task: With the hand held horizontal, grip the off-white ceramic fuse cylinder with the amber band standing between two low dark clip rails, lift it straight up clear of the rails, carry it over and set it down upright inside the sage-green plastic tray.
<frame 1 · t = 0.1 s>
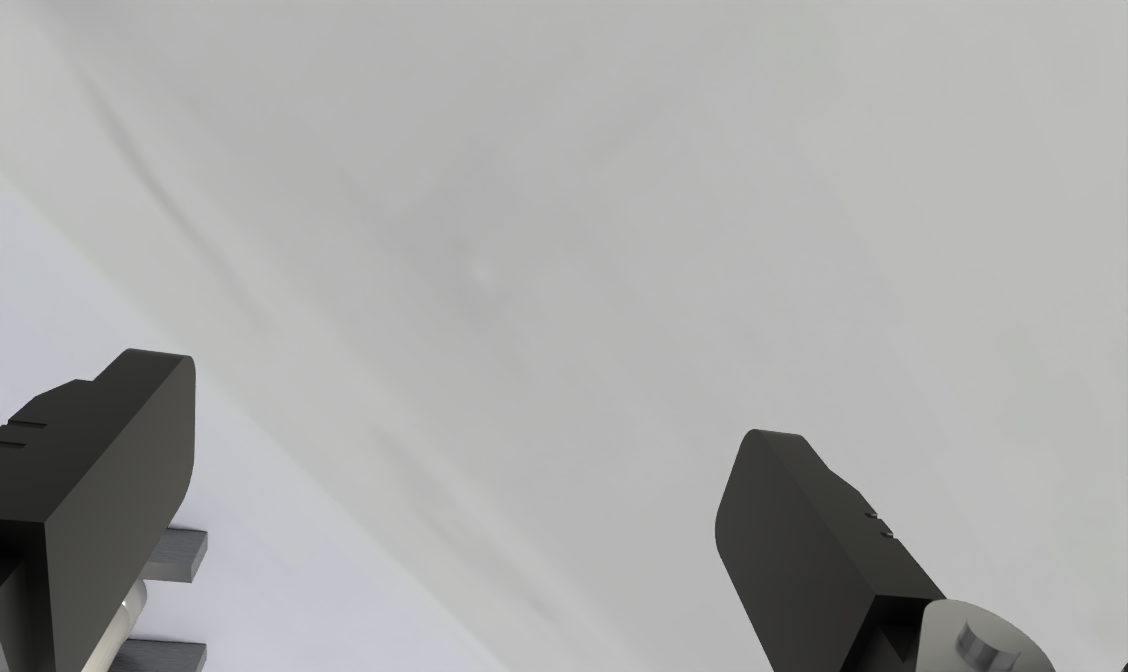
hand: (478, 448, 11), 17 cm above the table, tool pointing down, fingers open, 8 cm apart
fuse: (90, 589, 33), on the table
clip rails: (90, 590, 33), on the table
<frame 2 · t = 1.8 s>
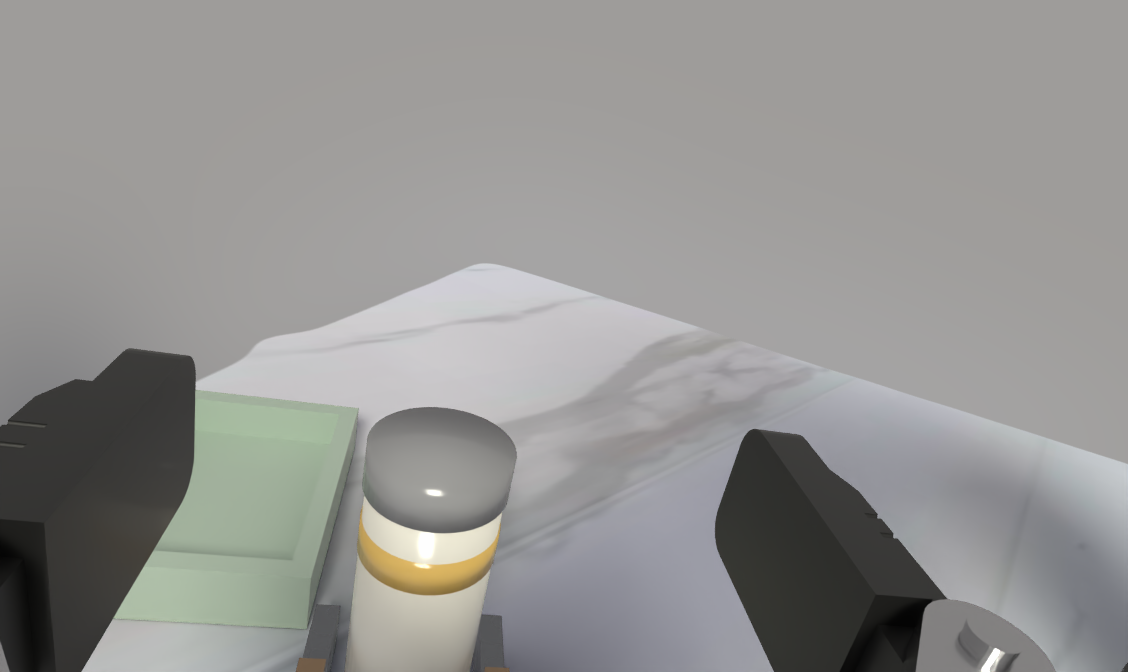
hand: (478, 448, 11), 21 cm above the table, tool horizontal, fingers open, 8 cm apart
tray: (228, 514, 39), on the table
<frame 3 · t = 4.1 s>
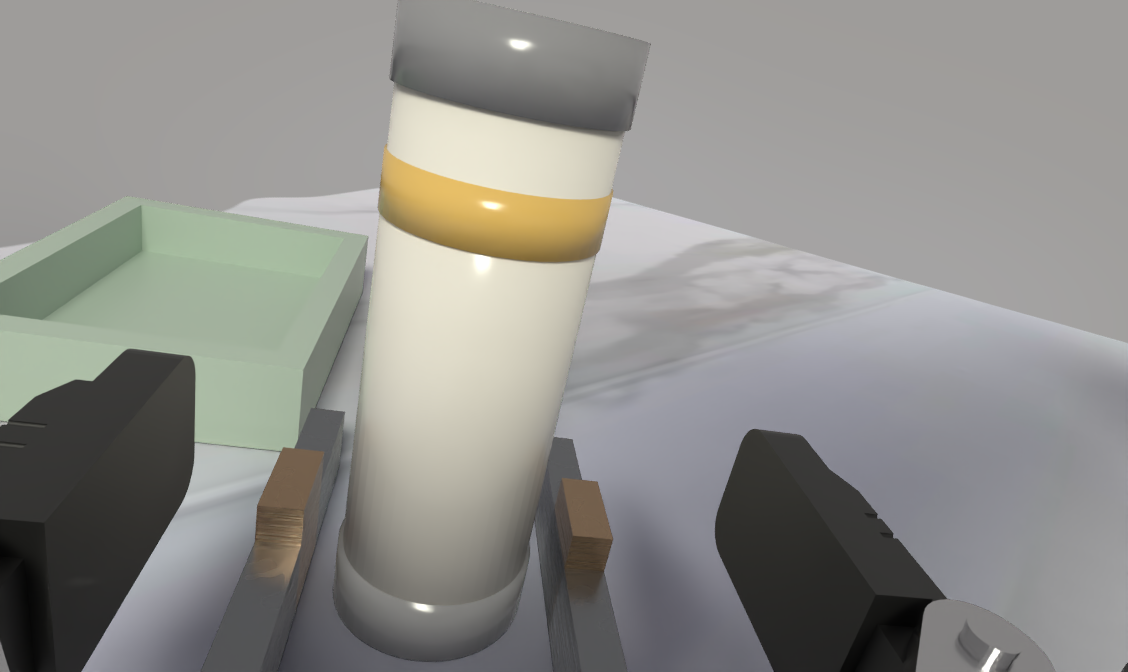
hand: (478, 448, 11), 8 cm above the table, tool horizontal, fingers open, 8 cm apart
fuse: (428, 587, 19), on the table
tray: (195, 335, 29), on the table
clip rails: (428, 586, 19), on the table
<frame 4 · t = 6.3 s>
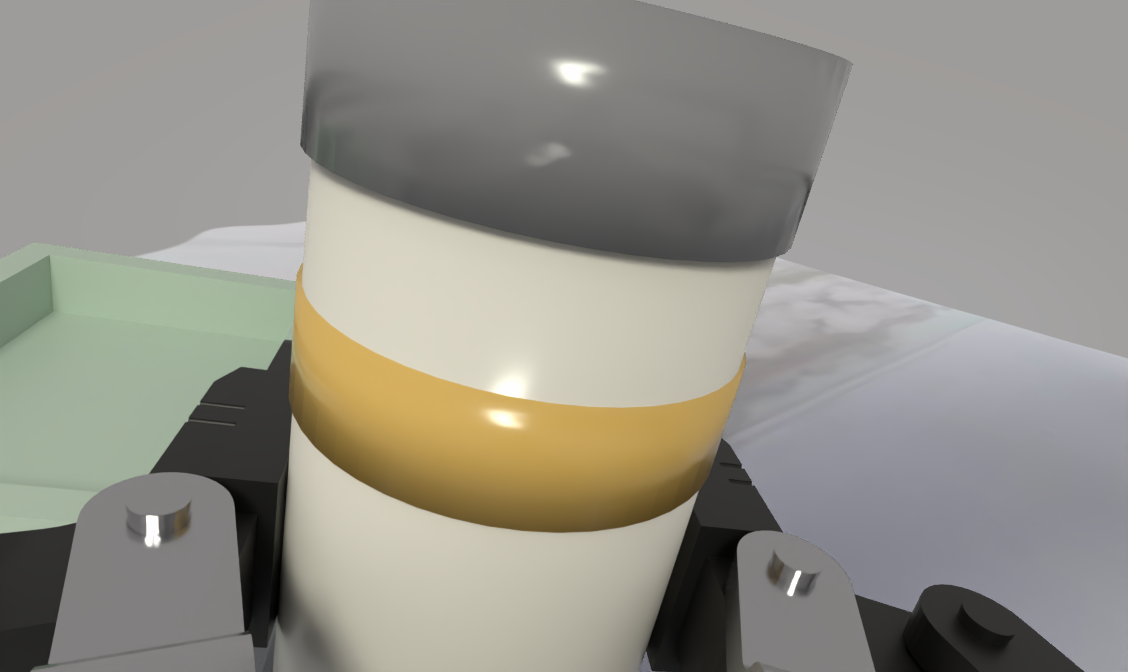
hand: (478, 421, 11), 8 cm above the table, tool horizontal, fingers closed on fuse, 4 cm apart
tray: (105, 436, 22), on the table
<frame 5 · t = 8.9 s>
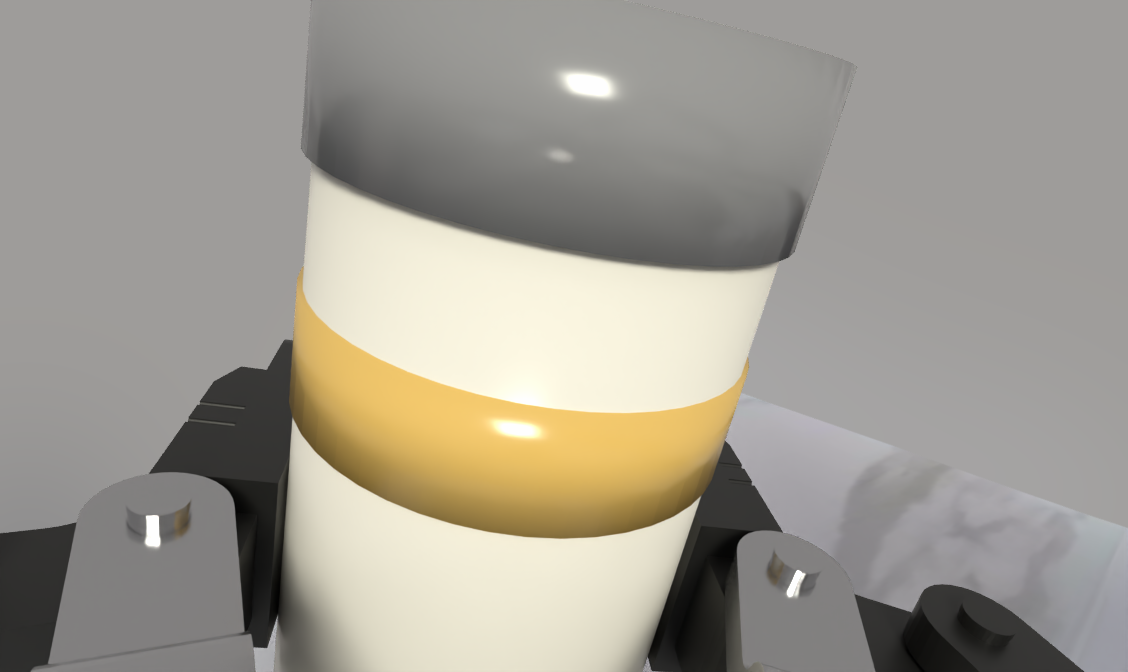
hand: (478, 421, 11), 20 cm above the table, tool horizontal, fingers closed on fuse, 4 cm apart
when the fingers open (10 cm above the table, at t = 11.5 s): fuse stays where it is, resting on tray.
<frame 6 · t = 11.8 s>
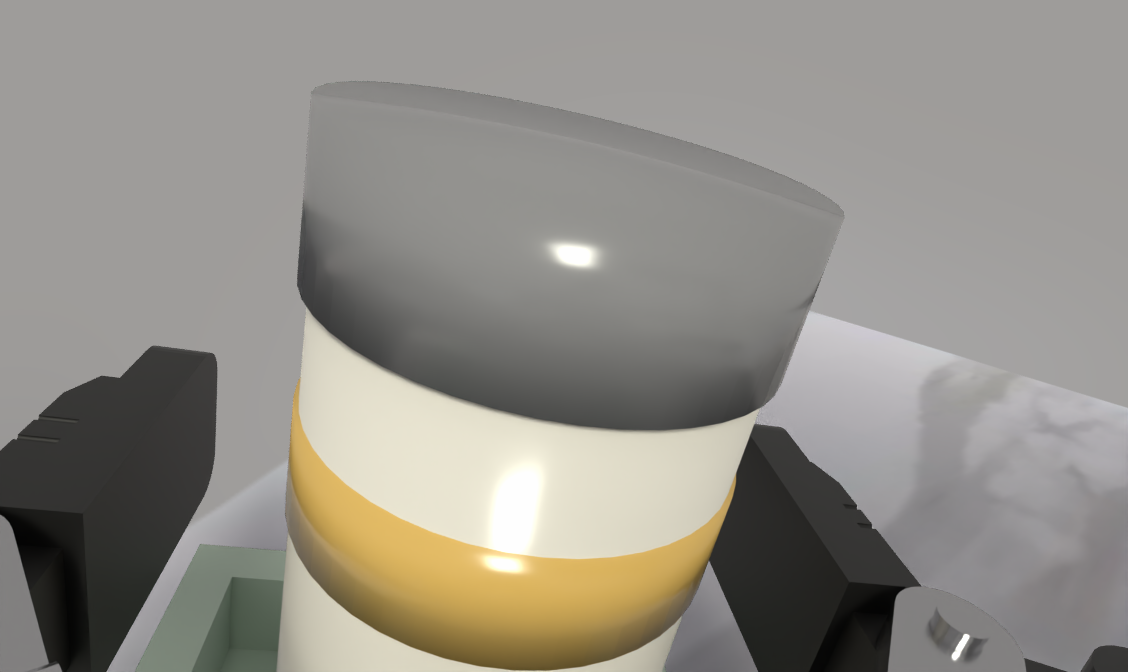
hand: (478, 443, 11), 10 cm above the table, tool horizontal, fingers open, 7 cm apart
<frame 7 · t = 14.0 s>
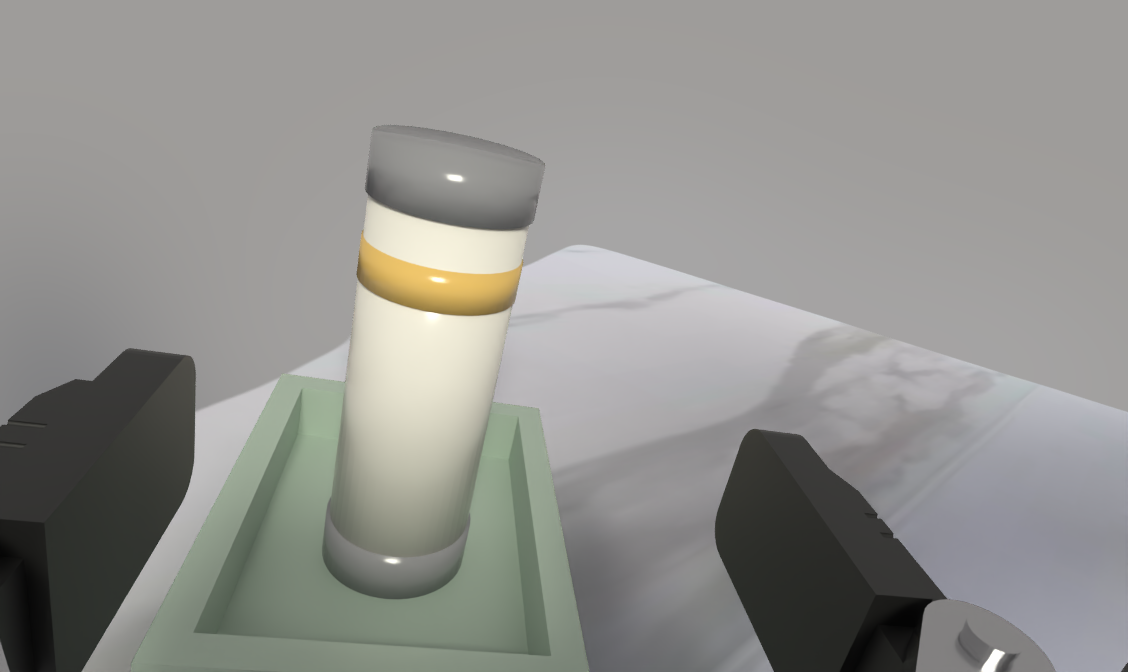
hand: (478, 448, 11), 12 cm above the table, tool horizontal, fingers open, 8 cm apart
fuse: (394, 549, 25), point 1 cm above the table, touching tray
tray: (389, 564, 25), on the table
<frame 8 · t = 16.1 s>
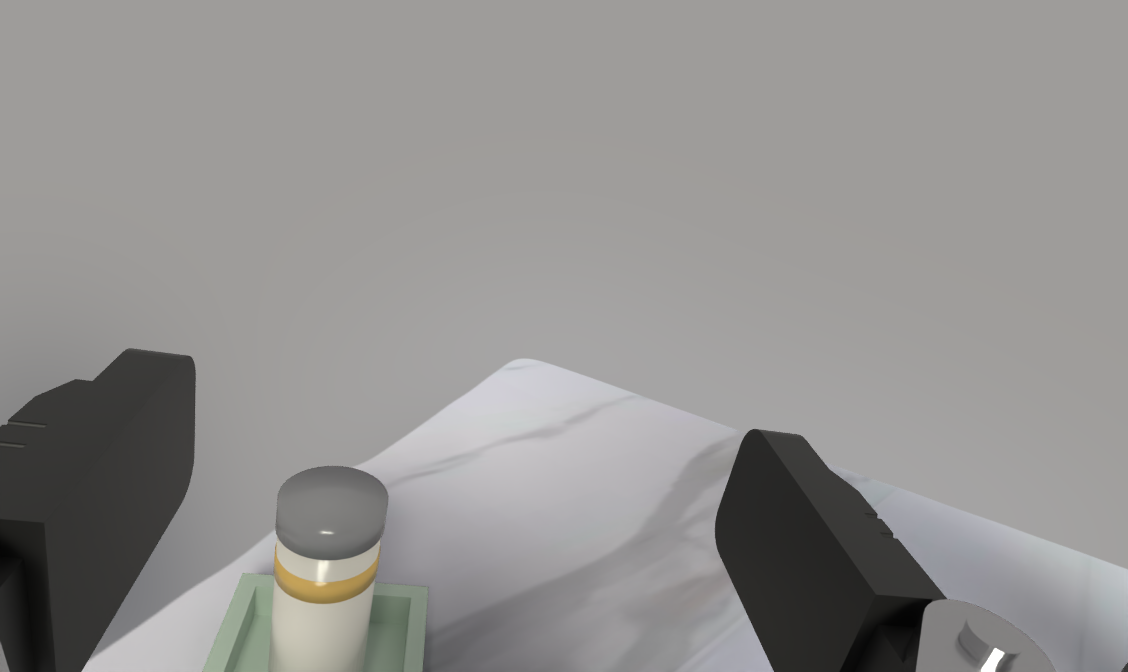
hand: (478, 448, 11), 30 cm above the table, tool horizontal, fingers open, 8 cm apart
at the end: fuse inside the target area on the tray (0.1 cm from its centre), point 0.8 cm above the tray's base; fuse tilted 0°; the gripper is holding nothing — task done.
